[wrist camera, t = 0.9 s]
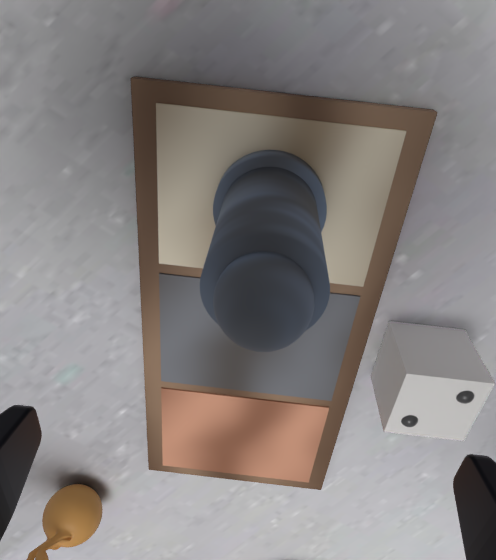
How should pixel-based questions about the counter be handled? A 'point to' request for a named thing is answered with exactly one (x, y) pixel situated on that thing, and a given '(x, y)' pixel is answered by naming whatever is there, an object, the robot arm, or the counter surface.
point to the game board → (193, 251)
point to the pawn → (267, 252)
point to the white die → (429, 381)
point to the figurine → (69, 519)
